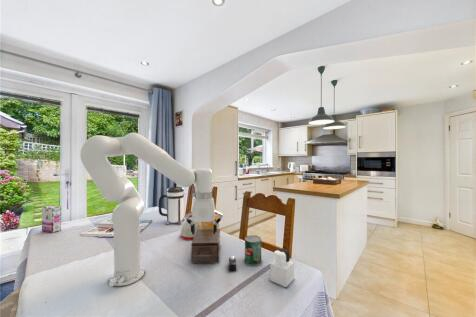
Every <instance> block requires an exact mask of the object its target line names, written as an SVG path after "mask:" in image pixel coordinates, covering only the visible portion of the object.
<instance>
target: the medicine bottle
mask: <svg viewBox="0 0 476 317" xmlns="http://www.w3.org/2000/svg"><path fill="white" fill-rule="evenodd" d="M290 255H291V253H290V252H289V250H287V249H285V248H277V249H275V250H274V256H273V257H274V258H273V259H274V260H273V261H271V262H270V263H269V281H270V282H273V283H275V284H277V285H279V286H281V287H283V288H287V287H288V286H289V285H290V284H291V283H292V282H293V281H294V278H295V277H294V276H295V275H294V274H295V273H294V271H295V268H294V267H295V266H294V265H295V264H294V261H292V260H291V258H290V257H291V256H290Z"/></svg>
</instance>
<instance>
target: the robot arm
mask: <svg viewBox="0 0 476 317" xmlns="http://www.w3.org/2000/svg"><path fill="white" fill-rule="evenodd" d="M79 155H80V156H79V157H80V161H81V163H82V165H83V167H84V168H85V170H86V172H87V174H88V175H89V177H90V178H91V180H92V182H93V183H94V185H95V187H96V188H97V190H98V192H99V193H100V195H101V196H102V198H103V199H104V200H105V201H107V202H109V203H115V202H116V203H117V206H115V208H114V209H113V211H112V214H111V223H112V228H113V273H112V274H111V275H110V277H109V282H108V286H109V287H110V288H112V287H123V286H127V285H131V284H134V283H136V282H137V281H139V280H140V279H142V277H143V276H144V274H145V268H144V267H142V266H141V227H140V216H141V215H142V214H143V212H144V211H145V202H144V200H143V199H142V197H141V195H140V193H139V192H138V190H137V188H136V187H135V185H134V183H133V182H132V181H131V180H130V179H129V178H128V177H125V176H120V175H119V174H118V173H117V171H116V168H115V167H114V166H113V164H112V163H111V162H110V160H109V159H108V158H109V157H110V158H111V157H120V156H130V155H133V156H134V157H136V158H138V159H139V160H141V161H142V162H144V163H145V164H147V165H148V166H150V167H152V169H154V170H156V171H157V172H159V173H160V174H161V175H163V176H164V177H166V178H167V179H169V180H170V181H172V182H173V183H174V184H175V183H176V184H177V186H180V187H182V188H188V187H191V186H192V185H193V184H194V192H193V193H191V197H194V198H193V199H192V205H191V207H192V208H191V211H190V212H188V213H186V214H185V215H183V218H184V220H185V221H186V220H187V222H188V223H189V224H190V226H191V232H192V235H193V234H194V233H195V224H194V223H195V222H201V223H202V222H213V223H214V225H213V234H215V232H217V224H218V223H219V224H220V222H221V220H222V218H223V217H224V214H223V213H222V212H219V211H218V210H217V211H218V212H217V211H215V208H216V205H215V199H214V197H213V171H212V169H211V168H205V167H202V168H190V167H186V166H185V165H183V164H181V163H180V162H179V161H178V160H176V159H175V158H173V157H172V156H171V155H170V154H169V153H168V152H167V151H166V150H164V149H163V148H161V147H160V146H158V145H157V144H155V143H154V142H152V141H150V140H149V139H147V138H146V137H145V135H142V134H140V133H137V132H130V133H127V134H125V136H116V137H111V136H106V135H100V134H99V135H93V136H91V137H89V138H88V139H86V140H85V141H84V142H83V144H82V146H81V148H80V154H79ZM215 214H216V215H218V216H219V218H218V219H217V220H216V219H215ZM191 215H192V221H191V220H190V219H189V216H191Z"/></svg>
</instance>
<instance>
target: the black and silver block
mask: <svg viewBox="0 0 476 317" xmlns="http://www.w3.org/2000/svg"><path fill="white" fill-rule="evenodd" d="M228 272H237V258H236V257H235V256H233V255H231V256H229V258H228Z"/></svg>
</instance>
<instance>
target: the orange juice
mask: <svg viewBox="0 0 476 317" xmlns="http://www.w3.org/2000/svg"><path fill="white" fill-rule="evenodd" d="M215 211H217V212H219V211H218V210H217V208H216V207H215ZM218 218H219V216H218V215H216V214H215V219H216V220H217V219H218ZM201 223H202V229H213V225H214V223H213V222H201ZM217 229H220V222H219V223H218V224H217Z"/></svg>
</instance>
